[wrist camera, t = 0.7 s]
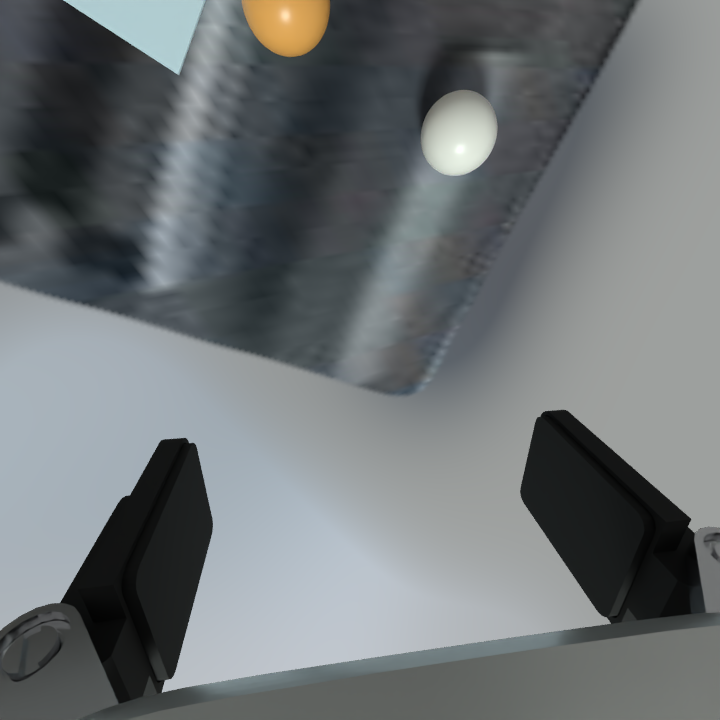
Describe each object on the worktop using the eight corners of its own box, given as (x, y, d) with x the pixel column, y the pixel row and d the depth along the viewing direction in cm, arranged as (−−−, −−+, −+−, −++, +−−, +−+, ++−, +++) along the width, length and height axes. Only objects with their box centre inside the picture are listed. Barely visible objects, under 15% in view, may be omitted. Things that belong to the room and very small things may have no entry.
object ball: (268, -57, 25) (259, -115, 20) (341, 3, 27) (350, -38, 22) (234, 33, 27) (217, -1, 22) (305, 84, 29) (305, 63, 24)
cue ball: (438, 81, 30) (465, 61, 25) (492, 125, 31) (527, 114, 26) (399, 151, 31) (417, 145, 26) (452, 189, 33) (479, 190, 28)
